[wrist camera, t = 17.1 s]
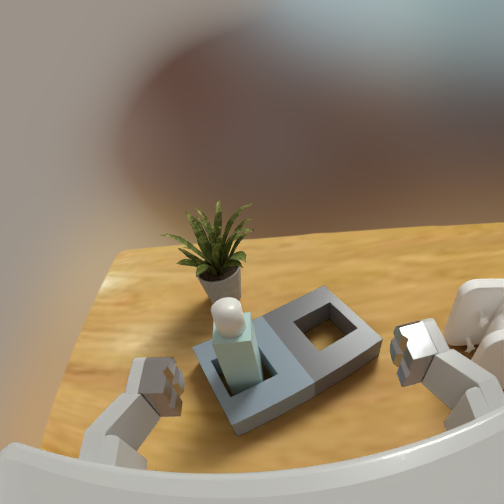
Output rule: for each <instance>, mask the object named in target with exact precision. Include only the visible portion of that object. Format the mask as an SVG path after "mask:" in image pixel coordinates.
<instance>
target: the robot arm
mask: <svg viewBox="0 0 504 504" xmlns="http://www.w3.org/2000/svg"><path fill="white" fill-rule="evenodd" d="M393 333H394V336H395V337H394V338H393V339H392V340H391V344H390V354H391V358H392V361H393V364H395V365H396V366H397V367H399V368H398V371H397V375H398V378H399V380H400V383H401V386H402V387H405V386H409V385H412V384H416V383H420V382H422V384H423V385H424V386H425V387H426V388H427V389H429V390H430V391H431V392H432V393H433V394H434V395H435V396H436V397H438V398H439V399H440V400H441V401H442V402H443V403H444V404H445V405H447V406H448V407H449V408H450V409H451V410H452V411H451V412H450V414H449V415H448V416H447V417H446V419H445V420H444V425H445V428H446V432H443V433H440V434H438V435H435V436H432V437H429V438H426V439H423V440H420V441H417V442H414V443H411V444H408V445H405V446H401V447H398V448H395V449H391V450H387V451H384V452H380V453H376V454H372V455H368V456H364V457H359V458H355V459H350V460H345V461H340V462H335V463H329V464H323V465H317V466H310V467H303V468H296V469H287V470H277V471H266V472H251V473H220V474H208V473H177V472H163V471H151V470H146V469H147V460H146V458H144V457H143V456H142V455H140V454H139V453H138V452H137V450H138V449H139V447H140V446H141V444H142V443H143V442H144V440H145V439H146V438H147V436H148V435H149V433H150V432H151V431H152V429H153V428H154V426H155V425H156V424H157V422H158V421H159V419H160V417H174V416H181V410H182V400H181V399H180V397H179V396H180V395H181V394H182V393H183V392H184V377H183V374H182V371H181V370H180V369H179V368H178V367H176V361H175V359H174V358H173V357H149V358H148V357H146V358H135V359H134V360H133V362H132V366H131V370H130V373H129V377H128V381H127V385H126V389H125V393H121V394H120V395H119V396H118V397H117V398H116V399H115V400H114V401H113V402H112V404H111V405H110V406H109V407H108V408H107V409H106V410H105V411H104V412H103V413H102V414H101V415H100V416H99V417H98V418H97V419H96V420H95V421H94V422H93V423H92V424H91V425H90V426H89V427H88V428H87V429H86V431H85V434H84V438H83V442H82V446H81V450H80V455H79V459H76V458H72V457H67V456H63V455H59V454H55V453H52V452H48V451H44V450H41V449H37V448H34V447H31V446H28V445H25V444H22V443H18V442H12V443H11V444H9V445H8V446H6V447H5V448H4V449H3V450H1V451H0V504H504V392H503V390H502V388H501V386H500V384H499V382H498V380H497V378H496V376H494V375H493V374H491V373H489V372H488V371H486V370H485V369H483V368H482V367H480V366H479V365H477V364H476V363H474V362H473V361H471V360H470V359H468V358H467V357H465V356H463V355H462V354H460V353H459V352H457V351H456V350H454V349H451V350H450V349H449V347H448V345H447V343H446V341H445V339H444V337H443V335H442V333H441V331H440V330H439V328H438V326H437V324H436V322H435V320H434V319H433V318H428V319H425V320H421V321H415V322H411V323H407V324H403V325H399V326H396V327H395V329H394V332H393Z"/></svg>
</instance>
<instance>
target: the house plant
mask: <svg viewBox="0 0 504 504" xmlns="http://www.w3.org/2000/svg"><path fill="white" fill-rule="evenodd" d="M251 204H252V203H251ZM251 204H248V205H245V206H243V207H241V208H239V209H238V210H237V211H236V212H235V213H234V214H233V215H232V216H231V218H230V219H229V221H228V223H227V225H226V228H225V232H224V234H223V235H221V228H222V227H221V224H222V212H221V208H220V201H219V200H218V202H217V204H216V209H215V222H214V225H213V227H211V225H210V222H209V220H208V219H207V217H206V216H205V215H204V214H203V213H202V212H201V211H200V210H199V209H197V208H196V207H195V208H196V209H197V211H198V212H199V214H200V215H201V216H202V221H201V220H200V219H199V218H198V217H197V218H198V219H199V220H200V222H199V221H198V220H197V219H195V218H194V217H193V216H192V215H191V214H190V213H188V212H186V214H187V217H188V219H189V222H190V224H191V226H192V228H193V230H194V233H195V235H196V238H197V242H198V245H199V247H200V249H201V251H202V252H203V253H202V252H200V251H199V250H198V249H197V248H196V247H194V246H193V245H192V244H191V243H189V242H188V241H186V240H185V239H183V238H181V237H178V236H175V235H170V234H162V235H163V236H167V237H171V238H173V239H176V240H177V241H179V242H181V243H183V244H184V245H186V246H187V247H184V248H188V249H191V250H192V251H194V252H195V253H197V254H198V255H199V256H201V257H202V258H203V259H205V260H204V261H203V260H201V259H199V258H198V257H196V256H194V255H193V254H191V253H189V252H187V251H185V250H183V249H180V248H178V249H179V250H180V251H182V252H183V253H184V254H185V255H186V256H187V257H188V258H190V259H192V260H190V259H183V260H181V261H179V262H178V263H177V264H180V265H188V266H194V267H197V271H196V277H198V279H199V281H200V283H201V284H202V286H203V288H204V290H205V291H206V293H207V295H208V297H209V299H210V300H211V302H212V304H214V303H215V302H216V301H217V300H219V299H222V298H226V297H232V298H235V299H237V300H238V301H239V300H240V298H241V274H240V267H242V265H241V263H240V261H239V260H243V261H245V262H246V254H245V252H243V251H239V252H236V253H234V251H235V249H236V247H237V246H238V244H239V243H240V241H241V240H242V239H243V237H244V236H245V235H246V234H247V233H249V232H250V231H254V230H251V229H247V228H241V227H242V226H243V224H244V223H245V222H246V221H248V220H250V219H251V218H249V219H246V220H244V221H242V222H241V223H240V224H239V225H238V226H237V228H236V229H235V231H234V233H233V235H232V236H231V237H230V238H229V239H228V240H227V242H226V238H227V235H228V233H229V230H230V228H231V226H232V224H233V222H234V220H235V219H236V218H237V217H238V215H239V214H240V213H241V211H242V210H243V209H244V208H246V207H248V206H249V205H251ZM203 221H204V223H203ZM202 224H203V226H204V228H205V230H206V232H207V234H208V238H209V240H208V238H207V236H206V233H205V231H204V229H203V227H202ZM204 224H205V225H204ZM240 228H241V229H240ZM241 231H246V232H244V233H243V234H242V235H240V234H237V233H238V232H241ZM221 236H223V238H222V241H221ZM238 237H239V238H238ZM236 238H238V239H237V241H236V242H235V244H234V246H233V248H232V250H231V252H230V255H228V254H229V251H230V248H231V245H232V243H233V241H234V240H235V239H236ZM209 241H210V242H209ZM225 242H226V243H225ZM233 253H234V254H233ZM193 260H194V261H193ZM242 268H243V267H242Z"/></svg>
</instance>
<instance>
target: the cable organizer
mask: <svg viewBox="0 0 504 504" xmlns="http://www.w3.org/2000/svg"><path fill="white" fill-rule="evenodd" d="M443 333H444V338H445V341H446V343H447V344H449V345H452V346H462V345H467V350H466V351H465V352H468V353H470V352H471V350H473V349H475V347H474V345H477V344H480V345H479V346H478V348H477V350H476V352H475V354H474V355H473V357H472V359H471V361H473V362H474V363H476V364H477V365H479V366H480V367H482V368H483V369H485V370H486V371H488V372H489V373H491V374H493V375H494V376H496V378H497V380H498V382H499V384H500V386H501V388H502V390H504V279H474V280H470V281H467V282H465V283H464V284H463V285H461V286H460V288H459V289H458V292H457V295H456V298H455V301H454V304H453V307H452V309H451V312H450V315H449V317H448V320H447V323H446V325H445V328H444V331H443Z"/></svg>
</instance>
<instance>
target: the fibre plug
mask: <svg viewBox="0 0 504 504" xmlns="http://www.w3.org/2000/svg"><path fill="white" fill-rule="evenodd" d="M211 314H212V317H213V320H214V323H213V335H212V346H213V349H214V351H215V354H216V356H217V359H218V361H219V364H220V366H221V369H222V371H223V374H224V376H225V378H226V381H227V383H228V385H229V388H230V390H231V393H232V395H233V396H234V395H237V394H239V393H241V392H243V391H245V390H247V389H249V388H251V387H253V386H255V385H257V384H259V383H261V382H263V381H264V374H263V366H262V361H261V357H260V353H259V348H258V344H257V339H256V335H255V331H254V326H253V322H252V318H251V313H250V312H247V313H243V312H242V308H241V304H240V302H239V301H238V300H237V299H235V298H232V297H226V298H222V299H219V300H217V301H216V302H215V303H214V304H213V305H212V307H211Z"/></svg>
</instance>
